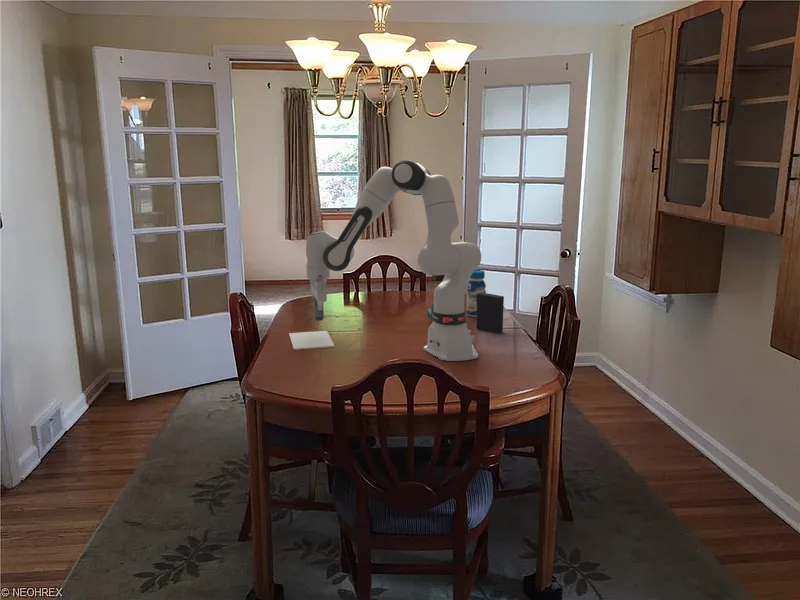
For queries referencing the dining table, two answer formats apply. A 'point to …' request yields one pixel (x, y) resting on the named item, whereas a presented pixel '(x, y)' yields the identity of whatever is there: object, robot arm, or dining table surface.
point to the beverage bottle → (475, 291)
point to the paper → (311, 340)
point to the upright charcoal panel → (490, 312)
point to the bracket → (431, 311)
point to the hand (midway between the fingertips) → (319, 308)
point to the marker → (318, 311)
